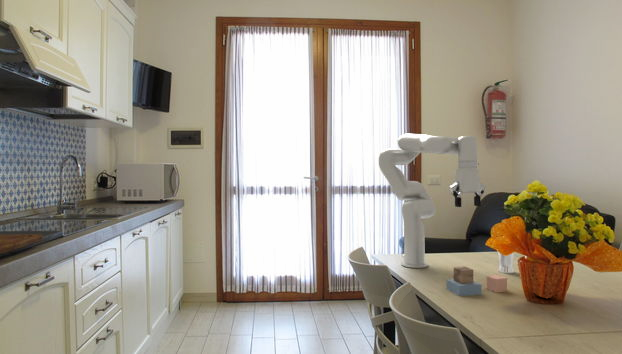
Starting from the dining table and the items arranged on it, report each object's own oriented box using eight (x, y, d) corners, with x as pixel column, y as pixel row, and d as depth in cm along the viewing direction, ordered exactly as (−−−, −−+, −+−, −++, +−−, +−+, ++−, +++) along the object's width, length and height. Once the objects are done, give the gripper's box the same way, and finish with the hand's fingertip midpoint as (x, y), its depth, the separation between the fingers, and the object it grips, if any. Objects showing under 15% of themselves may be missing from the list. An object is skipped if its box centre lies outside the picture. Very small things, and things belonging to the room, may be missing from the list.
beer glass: (498, 273, 177) (497, 239, 176) (497, 269, 183) (497, 236, 183) (515, 274, 174) (515, 239, 174) (514, 270, 181) (514, 237, 180)
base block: (446, 289, 154) (446, 279, 154) (467, 288, 156) (467, 278, 156) (459, 296, 145) (459, 286, 145) (481, 295, 147) (481, 284, 147)
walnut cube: (453, 280, 153) (453, 267, 153) (464, 279, 154) (464, 266, 154) (461, 284, 148) (461, 270, 148) (473, 282, 149) (473, 269, 149)
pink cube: (486, 289, 154) (486, 276, 154) (496, 287, 155) (496, 274, 155) (496, 292, 149) (496, 279, 149) (507, 291, 151) (506, 278, 150)
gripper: (478, 165, 174) (478, 205, 174) (444, 165, 169) (444, 206, 169) (490, 165, 167) (491, 206, 167) (456, 165, 162) (456, 208, 162)
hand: (467, 206), depth 168 cm, fingers open, 9 cm apart
